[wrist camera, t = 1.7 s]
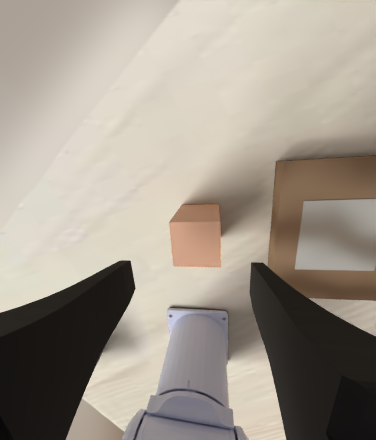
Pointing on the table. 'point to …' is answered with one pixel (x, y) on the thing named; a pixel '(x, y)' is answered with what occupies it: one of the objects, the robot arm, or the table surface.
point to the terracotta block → (196, 236)
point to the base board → (325, 227)
